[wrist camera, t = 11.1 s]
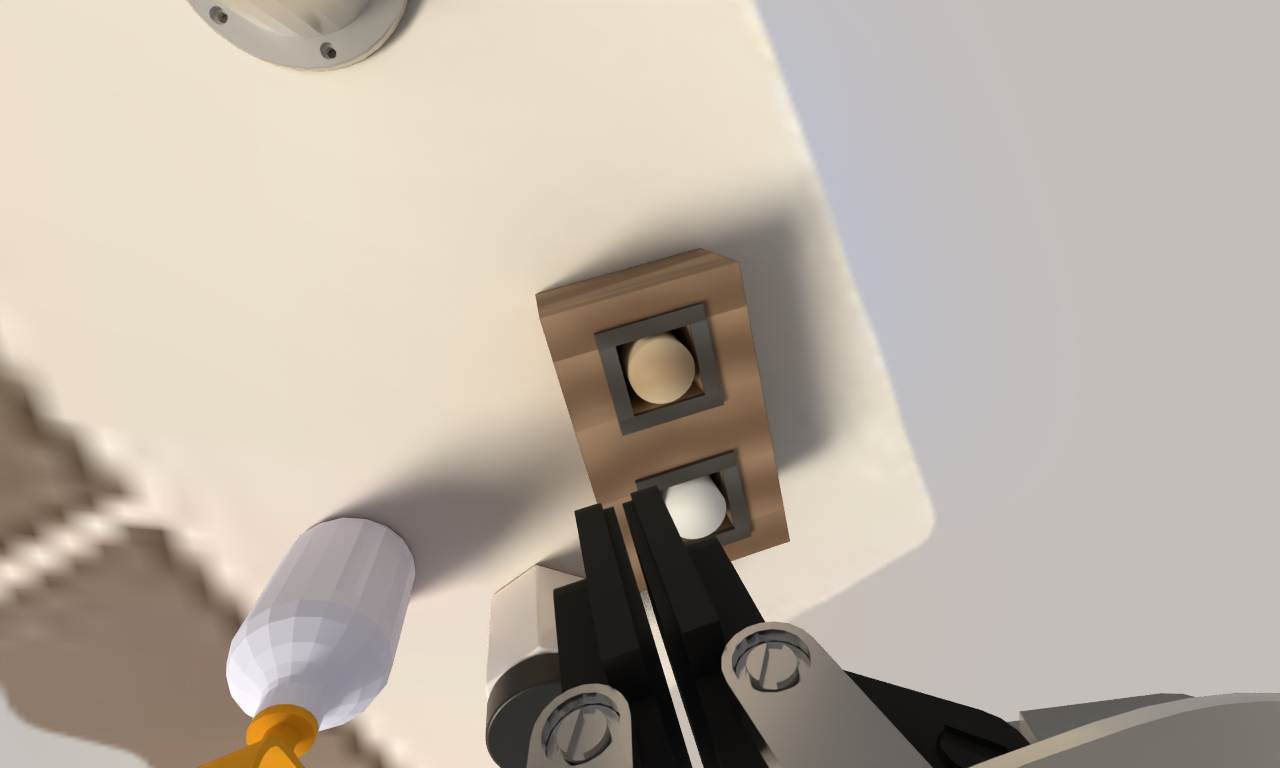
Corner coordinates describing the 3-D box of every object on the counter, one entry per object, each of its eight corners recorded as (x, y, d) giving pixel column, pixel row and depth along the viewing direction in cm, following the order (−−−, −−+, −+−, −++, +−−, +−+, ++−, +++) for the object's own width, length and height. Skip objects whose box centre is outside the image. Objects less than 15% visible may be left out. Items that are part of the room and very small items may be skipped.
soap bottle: (326, 636, 47) (143, 1072, 24) (261, 544, 43) (-23, 945, 21) (436, 590, 47) (362, 972, 24) (380, 495, 44) (234, 834, 21)
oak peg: (604, 322, 42) (622, 350, 35) (658, 306, 43) (687, 331, 36) (618, 374, 44) (638, 411, 37) (670, 358, 44) (701, 392, 37)
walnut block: (535, 294, 42) (539, 320, 34) (699, 248, 43) (740, 262, 35) (609, 533, 49) (627, 600, 41) (748, 487, 50) (792, 544, 42)
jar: (530, 670, 51) (534, 805, 40) (466, 610, 48) (452, 739, 37) (615, 608, 51) (643, 728, 40) (557, 545, 48) (569, 655, 37)
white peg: (638, 446, 46) (660, 495, 39) (688, 431, 46) (719, 476, 39) (650, 491, 47) (674, 546, 40) (698, 476, 48) (731, 528, 40)
